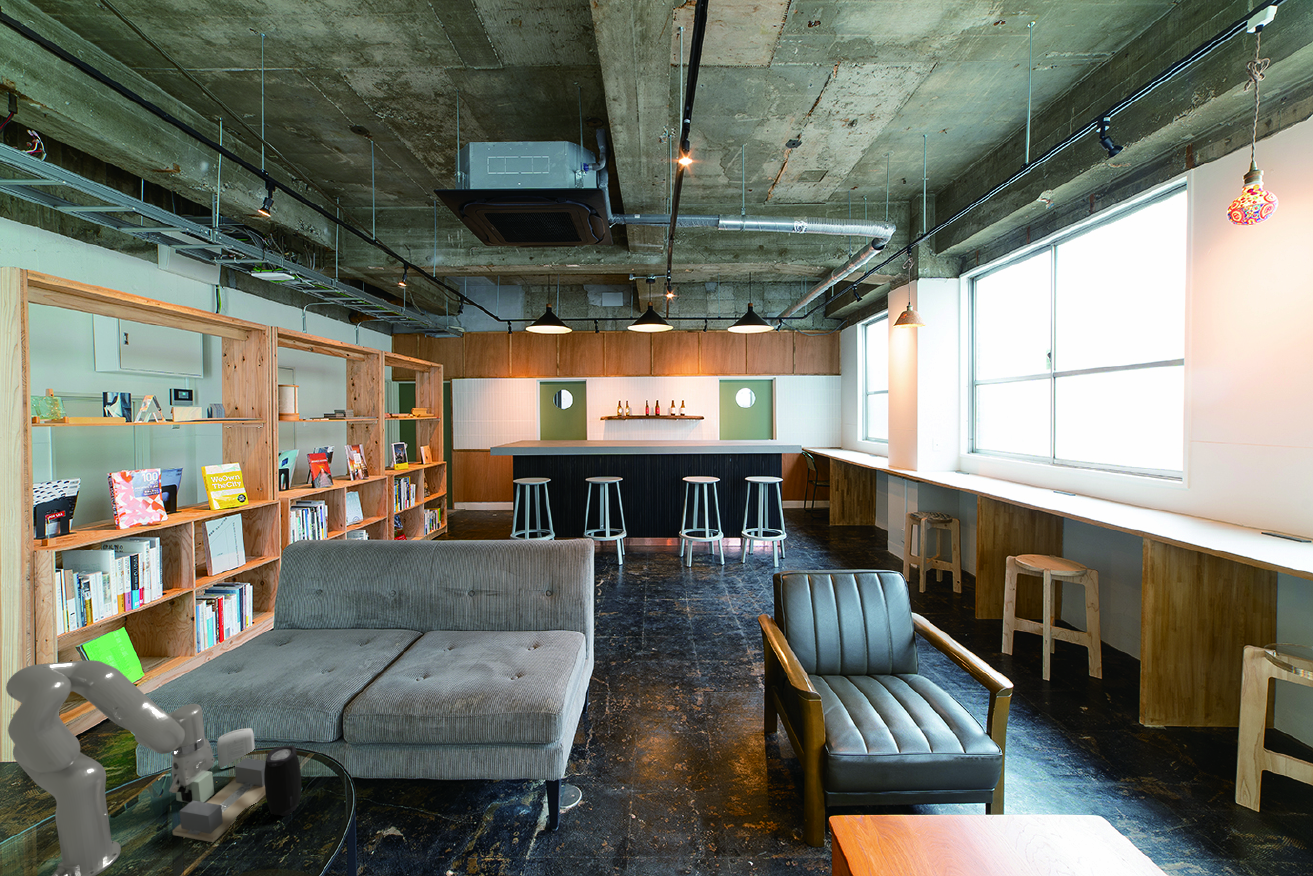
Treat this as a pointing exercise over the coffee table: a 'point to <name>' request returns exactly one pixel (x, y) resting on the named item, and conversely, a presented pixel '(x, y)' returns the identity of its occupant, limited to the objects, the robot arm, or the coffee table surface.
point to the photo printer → (234, 745)
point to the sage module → (200, 788)
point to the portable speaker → (282, 780)
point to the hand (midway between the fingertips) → (195, 794)
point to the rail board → (223, 803)
